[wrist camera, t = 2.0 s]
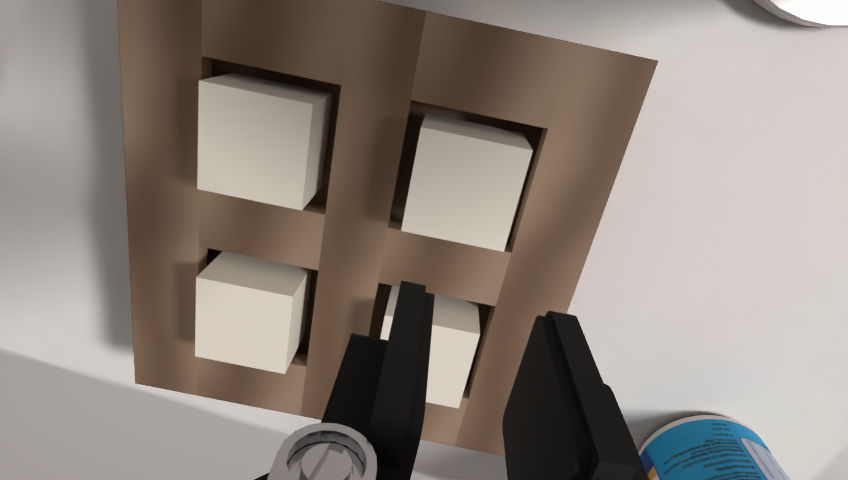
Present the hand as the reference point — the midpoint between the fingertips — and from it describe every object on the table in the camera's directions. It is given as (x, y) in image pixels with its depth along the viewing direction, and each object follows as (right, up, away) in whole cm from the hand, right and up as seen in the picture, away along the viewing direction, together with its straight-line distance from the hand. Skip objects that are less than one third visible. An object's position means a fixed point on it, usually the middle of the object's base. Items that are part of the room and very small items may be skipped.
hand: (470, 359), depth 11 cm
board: (-4, +4, +17) cm, 18 cm away
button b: (-10, 0, +17) cm, 20 cm away
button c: (-8, +8, +13) cm, 17 cm away
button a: (+1, +6, +14) cm, 15 cm away
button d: (-1, -2, +17) cm, 17 cm away
